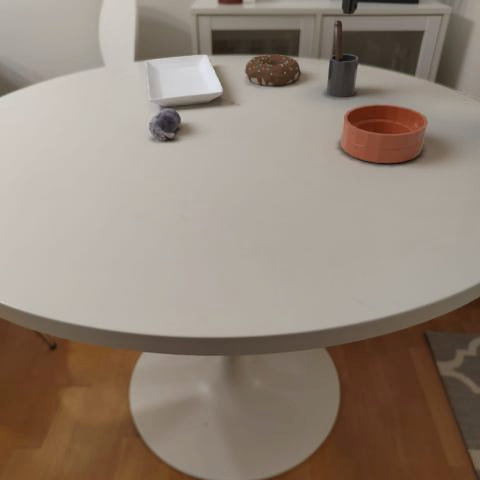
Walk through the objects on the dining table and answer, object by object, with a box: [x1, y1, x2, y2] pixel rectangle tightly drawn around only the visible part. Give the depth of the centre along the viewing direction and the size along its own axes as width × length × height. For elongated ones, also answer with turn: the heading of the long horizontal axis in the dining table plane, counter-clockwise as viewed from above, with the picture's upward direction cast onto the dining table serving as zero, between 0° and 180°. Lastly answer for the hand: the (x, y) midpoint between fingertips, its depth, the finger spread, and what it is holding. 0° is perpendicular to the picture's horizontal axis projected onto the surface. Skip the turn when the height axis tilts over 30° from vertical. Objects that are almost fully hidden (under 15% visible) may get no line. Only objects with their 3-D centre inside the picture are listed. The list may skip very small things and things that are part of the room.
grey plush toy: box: [148, 107, 182, 142], centre depth 91 cm, size 5×5×10 cm
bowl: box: [340, 104, 429, 164], centre depth 82 cm, size 14×14×6 cm
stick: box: [333, 20, 344, 61], centre depth 99 cm, size 2×2×16 cm
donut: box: [244, 53, 302, 87], centre depth 113 cm, size 14×14×5 cm
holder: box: [326, 53, 359, 98], centre depth 103 cm, size 6×6×8 cm
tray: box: [144, 54, 224, 108], centre depth 112 cm, size 17×32×4 cm, turn 10°
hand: (348, 13), depth 95 cm, fingers closed
